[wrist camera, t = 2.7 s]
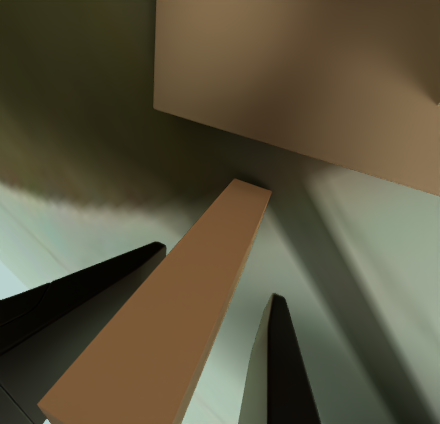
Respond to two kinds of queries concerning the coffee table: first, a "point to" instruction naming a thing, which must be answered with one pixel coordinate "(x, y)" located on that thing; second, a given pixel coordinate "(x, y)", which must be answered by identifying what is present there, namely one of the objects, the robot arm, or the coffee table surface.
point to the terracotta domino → (164, 325)
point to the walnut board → (310, 78)
